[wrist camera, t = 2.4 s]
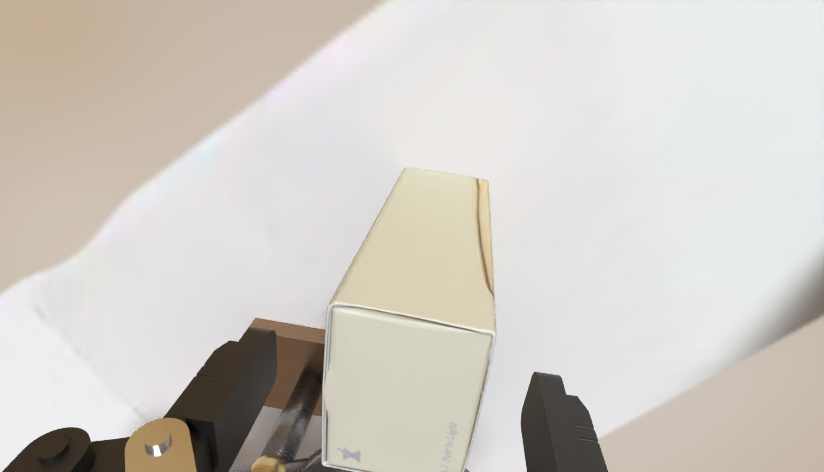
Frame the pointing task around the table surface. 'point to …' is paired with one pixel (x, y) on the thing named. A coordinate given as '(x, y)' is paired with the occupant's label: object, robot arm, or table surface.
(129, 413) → the table surface
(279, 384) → the balance
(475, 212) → the skincare box
